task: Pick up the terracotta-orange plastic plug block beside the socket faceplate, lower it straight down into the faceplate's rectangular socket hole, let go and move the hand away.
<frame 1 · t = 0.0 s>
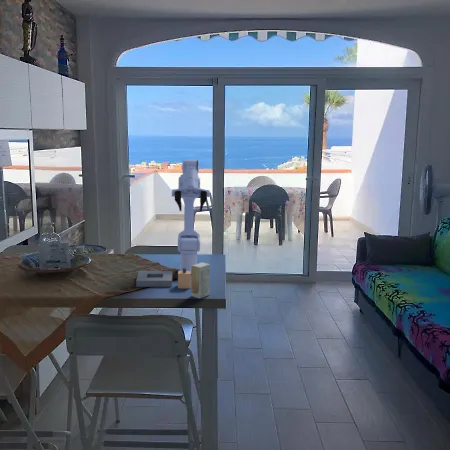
hand: (190, 209, 181), 32 cm above the table, fingers open, 7 cm apart
socket: (154, 281, 199), on the table
plug: (184, 286, 193), on the table
skincare box: (200, 296, 183), on the table
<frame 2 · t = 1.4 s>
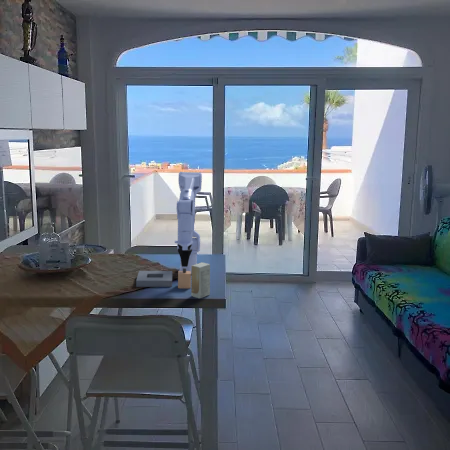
hand: (184, 263, 191), 9 cm above the table, fingers open, 7 cm apart
nothing on the table moved.
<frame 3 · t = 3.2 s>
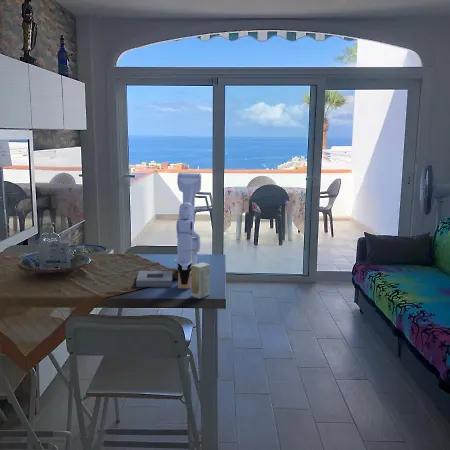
hand: (184, 282, 193), 2 cm above the table, fingers closed on plug, 4 cm apart
plug: (184, 286, 193), on the table, touching gripper
everything else where it was.
when the fingers open (3 cm above the table, at t = 7.2 s): plug drops 2 cm, resting in socket.
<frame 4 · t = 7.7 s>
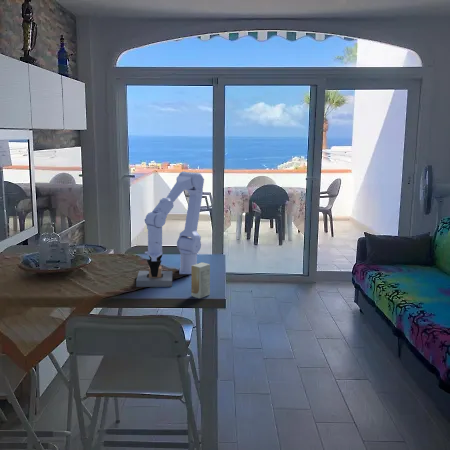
hand: (155, 273, 198), 3 cm above the table, fingers open, 7 cm apart
plug: (155, 281, 199), resting in socket
everything else where it was.
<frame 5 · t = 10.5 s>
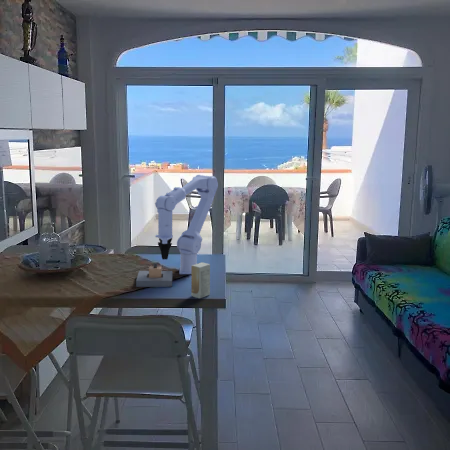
hand: (165, 256, 201), 9 cm above the table, fingers open, 7 cm apart
nothing on the table moved.
at the end: plug 0.1 cm off-centre on the socket, point 0.0 cm above the socket's base; plug tilted 0°; the gripper is holding nothing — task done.
